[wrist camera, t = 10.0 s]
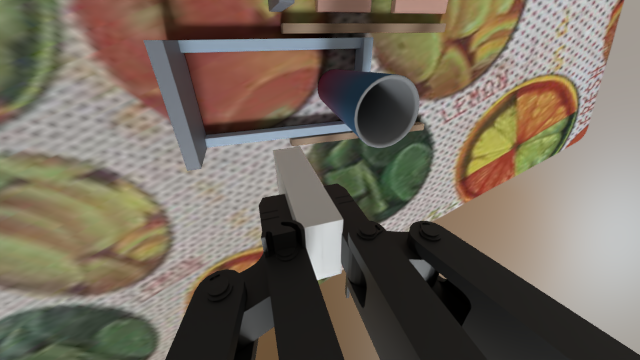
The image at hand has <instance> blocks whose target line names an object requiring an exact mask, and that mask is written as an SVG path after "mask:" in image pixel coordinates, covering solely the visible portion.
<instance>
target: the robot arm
mask: <svg viewBox="0 0 640 360" xmlns="http://www.w3.org/2000/svg"><path fill="white" fill-rule="evenodd" d="M273 154H274V161H275V169H276V176H277V184H278V191H279V195H276V196H270V197H265V198H262V200H261V202H260V204H259V211H260V218H261V226H262V236H261V240H262V245H263V250H264V252H263V255H262V257H261V258H260V260H259V261H258V262H257V263H256V264H254V265H253V266H251V267H250V268H248V269H246V270H245V271H243V272H241V273H238V272H236V271H235V270H221V271H217V272H215V273H213V274H211V275H209V276H207V277H206V278H205V279H204V280H203V281H202V282H201V283H200V284H199V285H198V287H197V289H196V290H195V292H194V294H193V297H192V299H191V301H190V304H189V306H188V308H187V310H186V313H185V315H184V317H183V320H182V322H181V324H180V327H179V329H178V331H177V334H176V336H175V338H174V341H173V343H172V345H171V347H170V350H169V352H168V354H167V357H166V359H165V360H255V358H256V351H257V345H258V338H259V337H260V336H262V335H263V334H264V333H266V332H267V331H269V330H270V329H271V328H273V327H275V334H276V342H277V349H278V356H279V360H344V357H343V354H342V351H341V349H340V346H339V343H338V340H337V337H336V334H335V331H334V328H333V325H332V322H331V319H330V316H329V313H328V310H327V308H326V304H325V302H324V299H323V296H322V293H321V290H320V287H319V284H318V281H317V280H319V279H323V278H326V277H330V276H333V275H337V274H341V269H342V266H343V268H344V270H345V272H346V288H345V294H346V298H349V292H350V293H351V296H352V298H353V300H354V302H355V305H356V307H357V309H358V311H359V313H360V316H361V318H362V320H363V322H364V324H365V327H366V329H367V331H368V333H369V336H370V338H371V340H372V342H373V345H374V347H375V349H376V351H377V354H378V356H379V358H380V360H640V355H639V354H637V353H636V352H634V351H633V350H631V349H630V348H628V347H627V346H625V345H623V344H622V343H620V342H619V341H617V340H616V339H614V338H613V337H611V336H610V335H608V334H607V333H605V332H603V331H602V330H600V329H599V328H597V327H596V326H594V325H593V324H591V323H589V322H588V321H587V320H585V319H583V318H582V317H580V316H579V315H577V314H576V313H574V312H573V311H571V310H570V309H568V308H567V307H565V306H563V305H562V304H560V303H559V302H557V301H556V300H554V299H553V298H551V297H550V296H548V295H546V294H545V293H543V292H542V291H540V290H539V289H537V288H535V287H534V286H533V285H531V284H530V283H528V282H526V281H525V280H523V279H522V278H520V277H519V276H517V275H516V274H514V273H513V272H511V271H510V270H508V269H507V268H505V267H503V266H502V265H500V264H499V263H497V262H496V261H494V260H493V259H491V258H490V257H488V256H486V255H485V254H483V253H482V252H480V251H479V250H477V249H476V248H474V247H473V246H471V245H469V244H468V243H466V242H465V241H463V240H462V239H460V238H459V237H457V236H456V235H454V234H453V233H451V232H450V231H448V230H446V229H445V228H443V227H442V226H440V225H438V224H436V223H433V222H429V221H418V222H415V223H413V224H412V225H411V226H410V230H409V232H393V231H386V230H385V228H383V227H382V226H381V225H380V224H378V223H376V222H374V221H369V220H368V219H367V217H366V216H365V215H364V213H363V212H362V210H361V209H360V208H359V206H358V205H357V204H356V202H354V200H353V198H352V197H351V196H350V194H349V193H348V191H347V190H346V189H345V188H344V187H342V186H340V185H339V184H332V185H327V186H323V185H322V183H321V181H320V180H319V178H318V176H317V175H316V173H315V171H314V170H313V168H312V166H311V164H310V163H309V161H308V159H307V158H306V156H305V154H304V153H303V151H302V149H301V148H300V147H294V148H287V149H279V150H273ZM439 273H440V274H442V275H443V276H444V277H445V278H446V279H443V278H442V277H440V276H439Z"/></svg>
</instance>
